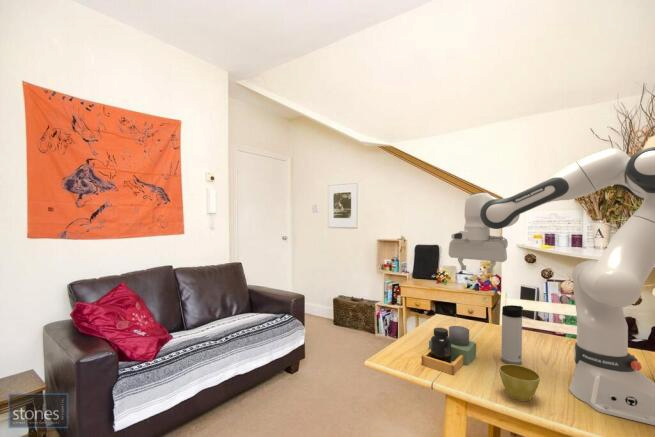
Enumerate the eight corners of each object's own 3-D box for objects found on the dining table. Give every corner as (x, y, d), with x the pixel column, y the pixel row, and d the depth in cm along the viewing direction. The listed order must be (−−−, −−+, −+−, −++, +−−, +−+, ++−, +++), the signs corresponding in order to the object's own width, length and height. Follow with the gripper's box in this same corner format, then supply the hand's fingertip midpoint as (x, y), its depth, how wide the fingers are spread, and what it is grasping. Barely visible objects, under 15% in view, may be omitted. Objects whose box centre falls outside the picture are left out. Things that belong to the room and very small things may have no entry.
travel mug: (525, 366, 109) (526, 309, 109) (504, 364, 111) (505, 307, 110) (518, 358, 115) (519, 304, 115) (498, 356, 117) (499, 303, 117)
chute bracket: (463, 364, 110) (463, 355, 110) (453, 375, 103) (453, 365, 103) (432, 355, 118) (432, 347, 118) (421, 364, 110) (421, 356, 110)
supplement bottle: (447, 359, 114) (448, 326, 114) (453, 368, 107) (454, 333, 107) (428, 358, 115) (428, 325, 115) (433, 367, 108) (433, 332, 108)
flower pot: (502, 383, 98) (502, 360, 98) (541, 395, 92) (541, 370, 91) (495, 397, 90) (495, 372, 90) (537, 411, 84) (537, 385, 84)
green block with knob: (476, 356, 117) (476, 329, 117) (467, 365, 109) (468, 337, 109) (438, 345, 126) (439, 321, 126) (428, 353, 119) (429, 327, 119)
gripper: (509, 236, 115) (509, 273, 115) (452, 233, 129) (452, 267, 129) (505, 237, 111) (505, 276, 111) (447, 234, 124) (446, 269, 124)
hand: (476, 271), depth 120 cm, fingers open, 8 cm apart
